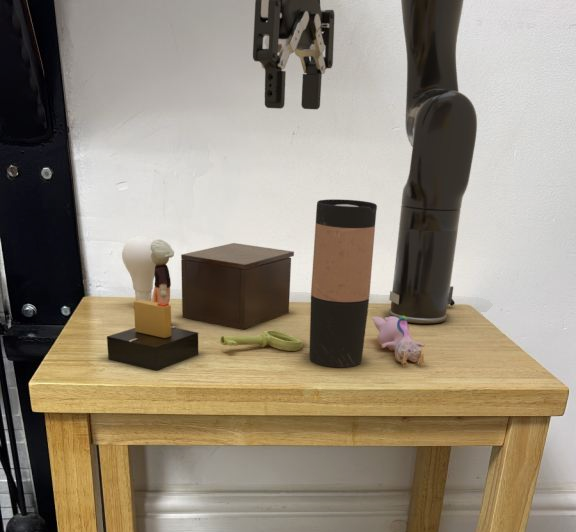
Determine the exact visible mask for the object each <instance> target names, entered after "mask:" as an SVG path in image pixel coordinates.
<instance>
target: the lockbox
mask: <svg viewBox="0 0 576 532" xmlns="http://www.w3.org/2000/svg"><path fill="white" fill-rule="evenodd" d="M180 261H181V263H180V265H181V266H180V267H181V269H180V270H181V312H182V313H181V314H182V315H181V317H182V318H185V319H190V320H195V321H199V322H205V323H209V324H215V325H220V326H224V327H230V328H235V329H240V330H246V329H249V328H252V327H254V326H257V325H260V324H263V323H265V322H268V321H272V320H273V319H277V318H279V317H282V316H284V315H287V314H289V313H290V297H291V296H290V293H291V274H292V273H291V271H292V257H288V258H285V259H281V260H278V261H274V262H270V263H267V264H263V265H259V266H256V267H252V268H248V269H239V268H233V267H227V266H220V265H214V264H208V263H202V262H196V261H189V260H183V259H181V260H180Z"/></svg>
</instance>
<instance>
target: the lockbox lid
mask: <svg viewBox="0 0 576 532" xmlns="http://www.w3.org/2000/svg"><path fill="white" fill-rule="evenodd" d="M294 256H295V251H292V250H285V249H278V248H271V247H265V246H258V245H250V244H243V243H237V242H233V243H227V244H222V245H217V246H213V247H209V248H205V249H200V250H196V251H191V252H187V253H182V254H180V259H181V260H182V259H183V260H189V261H196V262H202V263H208V264H214V265H220V266H227V267H233V268H239V269H248V268H252V267H256V266H259V265H263V264H267V263H270V262H274V261H278V260H281V259H285V258H288V257H289V258H292V257H294Z"/></svg>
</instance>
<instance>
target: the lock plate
mask: <svg viewBox="0 0 576 532" xmlns="http://www.w3.org/2000/svg"><path fill="white" fill-rule="evenodd" d="M171 334H172V336H170V337H167V338H162V337H157V336H153V335H148V334H143V333H139V332H135V327H133V328H130V329H127V330H122V331H120V332H117V333H114V334H110V335H107V336H106V342H107V343H106V344H107V358H108V360H111V361H115V362H119V363H124V364H128V365H132V366H137V367H141V368H144V369H149V370H152V371H153V370H154V371H160V370H162V369H164V368H167V367H170V366H172V365H174V364H176V363H180V362H182V361H185V360H188V359H191V358H192V357H196V356H197V355H199V332H197V331H192V330H189V329H183V328H179V327H176V326H175V325H172V327H171Z"/></svg>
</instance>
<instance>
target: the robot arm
mask: <svg viewBox="0 0 576 532" xmlns="http://www.w3.org/2000/svg"><path fill="white" fill-rule="evenodd" d="M254 1H255V3H254V21H253V39H252V43H253V44H252V60H253V61H254V62H259V63H260V64H261V68H262V69H264V73H265V74H264V106H265V107H266V109H279V110H281V109H283V108H284V107H285V101H286V73H287V72H286V70H284V69H285V68H286V66H287V64H288V60H289V57H290V55H292V54H295V56H296V57H298V58H299V59H300V63H301V66H302V67H301V68H302V71H303V73H302V82H301V84H302V85H301V108H302V109H304V110H318V109H319V108H320V107H321V95H322V76H323V75H324V74H325V72H326V70H327V69H332V68H333V65H334V39H335V11H334V10H333V9H322V7H321V0H254ZM464 1H465V0H400V2H401V3H400V4H401V14H402V25H403V33H404V34H403V35H404V41H405V52H406V97H405V98H406V99H405V100H406V101H405V121H404V122H405V123H404V124H405V125H404V127H405V134H406V138H407V141H408V143H409V145H410V146H411V147H412V148H411V149H412V150H411V156H410V157H411V158H410V165H409V172H408V176H407V180H406V182H405V184H404V186H403V188H402V194H401V205H400V213H399V222H398V234H397V242H396V252H395V260H394V261H395V262H394V273H393V279H392V280H393V281H392V290H390V291H389V301H390V308H389V313H388V315H389V317H391V316H394V317H397V318H400V317H401V316H403V315H404V316H405V317H406V320H407V323H411V324H422V325H424V324H425V325H426V324H427V325H430V324H431V325H432V324H439V323H443V322H445V321H447V317H448V313H447V312H448V306H451V307H453V306H454V305H455V301H454V299H453V292H454V286H451V283H452V276H453V268H454V261H455V254H456V246H457V240H458V233H459V232H458V231H459V225H460V217H461V209H462V204H463V199H464V195H465V193H466V191H467V189H468V186H469V182H470V176H471V172H472V171H471V170H472V165H473V160H474V159H473V158H474V153H475V147H476V141H477V139H476V138H477V131H478V117H477V116H478V115H477V112H476V108H475V106H474V103H473V102H472V101H471V99H469V98H468V97H467V96H466V95H465V94H463V93H462V92H460V91H459V83H458V71H457V40H458V34H459V29H460V24H461V18H462V13H463V7H464ZM265 36H266V37H265ZM264 37H265V40H264ZM264 44H265V46H266V48H263V47H264ZM323 53H324V54H323Z"/></svg>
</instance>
